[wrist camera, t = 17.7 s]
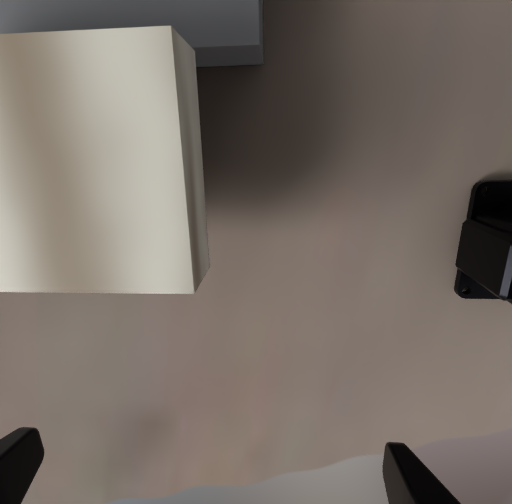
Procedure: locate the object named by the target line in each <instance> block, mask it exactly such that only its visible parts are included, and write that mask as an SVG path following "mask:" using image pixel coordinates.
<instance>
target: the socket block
mask: <svg viewBox="0 0 512 504" xmlns="http://www.w3.org/2000/svg"><path fill="white" fill-rule="evenodd" d="M152 26H172V27H173V28H174V29H175V30H176V31H177V33H178V34H179V35H180V36H181V37H182V38H183V39H184V40H185V41H186V42H187V43H188V44H189V45H190V46H191V47H192V48H193V50H194V51H195V60H196V67H210V66H235V65H260V64H263V0H0V34H10V33H31V32H51V31H71V30H91V29H111V28H131V27H152Z"/></svg>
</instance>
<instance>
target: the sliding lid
mask: <svg viewBox="0 0 512 504" xmlns="http://www.w3.org/2000/svg"><path fill="white" fill-rule="evenodd" d="M209 267H210V262H209V248H208V234H207V219H206V205H205V190H204V176H203V161H202V147H201V132H200V118H199V103H198V89H197V75H196V60H195V51H194V50H193V48H192V47H191V46H190V45H189V44H188V43H187V42H186V41H185V40H184V39H183V38H182V37H181V36H180V35H179V34H178V33H177V31H176V30H175V29H174V28H173V27H172V26H152V27H131V28H111V29H91V30H71V31H51V32H31V33H10V34H0V292H58V293H151V294H195V292H196V290H197V288H198V287H199V285H200V283H201V281H202V280H203V278H204V276H205V274H206V272H207V271H208V269H209Z"/></svg>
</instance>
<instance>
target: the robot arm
mask: <svg viewBox="0 0 512 504" xmlns="http://www.w3.org/2000/svg"><path fill="white" fill-rule="evenodd" d="M484 187H486V188H487V191H486V193H485V194H484V195H481V190H482V188H484ZM456 267H457V268H458V269H457V275H456V280H455V286H454V291H455V292H456V294H458V295H459V296H460V297H462V298H465V299H501V300H507V301H508V302H509V303H511V304H512V180H485V181H479V182H477V183H476V184H475V185H474V186H473V188H472V190H471V196H470V202H469V207H468V213H467V218H466V220H465V222H464V223H463V225H462V230H461V236H460V242H459V247H458V253H457V259H456ZM466 286H468V289H467V290H466V291H463V292H462V290H463V288H464V287H466ZM43 457H44V448H43V444H42V441H41V437H40V434H39V431H38V430H37V429H36V428H30V427H22V428H18V429H17V430H15V431H13V432H12V433H10V434H8V435H7V436H5V437H3V438H2V439H0V504H21V502H22V500H23V498H24V497H25V495H26V493H27V491H28V489H29V487H30V485H31V483H32V481H33V479H34V477H35V475H36V473H37V471H38V469H39V467H40V465H41V463H42V460H43ZM383 478H384V482H385V487H386V492H387V497H388V501H389V504H461V503H460V502H459V501H458V500H457V499H456V498H455V497H454V496H453V495H452V494H451V493H450V492H449V490H448V489H447V488H445V486H444V485H443V484H442V483H441V482H440V481H439V480H438V479H437V478H436V477H435V476H434V474H433V473H432V472H431V471H430V470H429V469H428V468H427V467H426V466H425V465H424V464H423V463H422V462H421V461H420V460H419V459H418V457H417V456H416V455H415V454H414V453H413V452H412V451H411V450H410V449H409V448H408V447H407V446H406V445H405V444H404V443H398V442H388V443H386V446H385V452H384V460H383Z"/></svg>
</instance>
